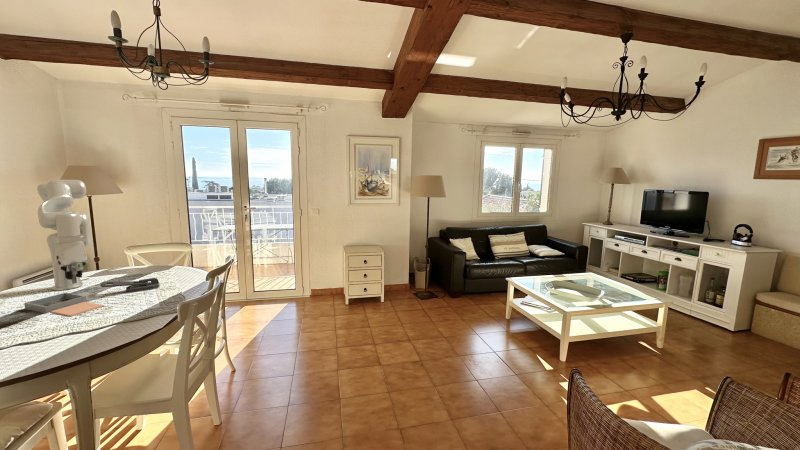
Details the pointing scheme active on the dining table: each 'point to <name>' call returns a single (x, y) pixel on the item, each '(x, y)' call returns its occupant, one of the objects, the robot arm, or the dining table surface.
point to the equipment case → (74, 299)
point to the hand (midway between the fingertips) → (74, 277)
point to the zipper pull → (135, 285)
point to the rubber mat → (77, 309)
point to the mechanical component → (75, 270)
